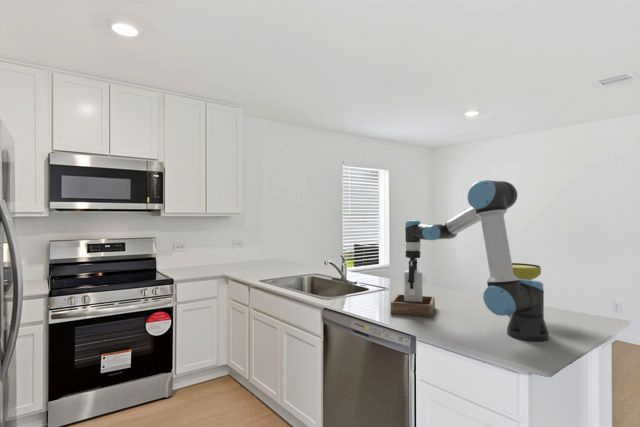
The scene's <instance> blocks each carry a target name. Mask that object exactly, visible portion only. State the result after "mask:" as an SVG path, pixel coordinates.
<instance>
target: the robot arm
mask: <svg viewBox="0 0 640 427" xmlns="http://www.w3.org/2000/svg"><path fill="white" fill-rule="evenodd" d="M517 200H518V191H517V188H516V187H515V186H514V185H513V184H512V183H511V182H509V181H503V180H502V181H501V180H500V181H499V180H498V181H497V180H490V179H487V180H479V181H476V182H475V183H473V184H472V185H471V186H470V188H469V190H468V192H467V202H468V204H469V206H471V207H469V208H468V209H466V210H464V211H462V212H461V213H459V214H457V215H456V216H454V217H453V218H451V219H449V220H447V221H446V222H444V223H441V224H421V221H420V220H407V221H405V226H404V231H405V232H404V234H405V237H404V238H405V243H404V246H405V258H407V259H409V261H408V270H409V280H408V282H409V295H415V282H414V273H415V271H416V270H418V259H420V258H421V251H420V250H421V240H423V241H424V240H426V241H436V240H451V239H454V238H456V237H457V236H458V233H460V232H462V231H464V230H466V229H468V228H470V227H472V226H474V225H475V224H477V223H478V222H481V228H482V234H483V240H484V245H485V246H484V247H485V253H486V259H487V264H488V271H489V278H488V279H487V280H486V284H487V285H486V286H487V287H486V288H485V290H484V292H483V295H482V296H483V297H482V298H483V302H484V304H485V306H486V308H487V309H488V310H489V311H490V312H491V313H493V314H494V315H496V316H500V317H503V316H507V317H508V316H509V315H511V318H510V317H509V321H508V324H507V327H506V333H507V335H508V336H510V337H512V338H515V339H518V340H523V341H528V342H544V341H548V340H549V339H550V332H549V329H548V326H547V324H546V321H545V318H544V317H545V316H544V301H545V300H544V299H545V297H544V295H545V294H544V292H545V289H544V283H543V282H542V281H539V280H534V279H532V280H527V279H519V278H517V277H516V276H515V275H514V273H513V267H512V263H513V261H512V257H511V250H510V243H509V239H508V234H507V227H506V222H505V214H506V213H507V211H508V209H510V208H511V207H513V206H514V205H515V203H516V202H517Z"/></svg>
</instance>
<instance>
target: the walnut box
mask: <svg viewBox="0 0 640 427" xmlns="http://www.w3.org/2000/svg"><path fill="white" fill-rule="evenodd" d="M435 298H436V297H435V296H428V295H422V302H414V301H405V299H404V294H401V293H400V294H399V293H397V294H396V295H395V296H394V297H393V299H392V300H391V301H390V315H395V316H396V315H399V316H409V317H420V318H430V319H431V318H433V315H434V311H435V309H436V306H435V305H436V304H435V302H436V301H435V300H436V299H435Z"/></svg>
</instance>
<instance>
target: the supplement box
mask: <svg viewBox="0 0 640 427" xmlns="http://www.w3.org/2000/svg"><path fill="white" fill-rule="evenodd" d="M403 271H404V272H403V280H404V281H403V284H404V285H403V288H404V291H403V293H404V294H403V295H404V299H405V301H414V302H422V296H423V272H422V270H421V269H420V270H419V269H417V270H416V271H415V273H414V282H415V295H409V282H408V280H409V269H403Z"/></svg>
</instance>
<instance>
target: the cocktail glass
mask: <svg viewBox="0 0 640 427" xmlns="http://www.w3.org/2000/svg"><path fill="white" fill-rule="evenodd" d="M512 267H513V273H514V275H515V276H516V277H517V278H519V279H527V280H534V279H536V278H538V277H539V276H540V275H541V273H542V268H541V266H540V265H538V264H531V263H518V262H516V263H515V262H512ZM507 317H509V319H510V318H511V315H509V316H507Z"/></svg>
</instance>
